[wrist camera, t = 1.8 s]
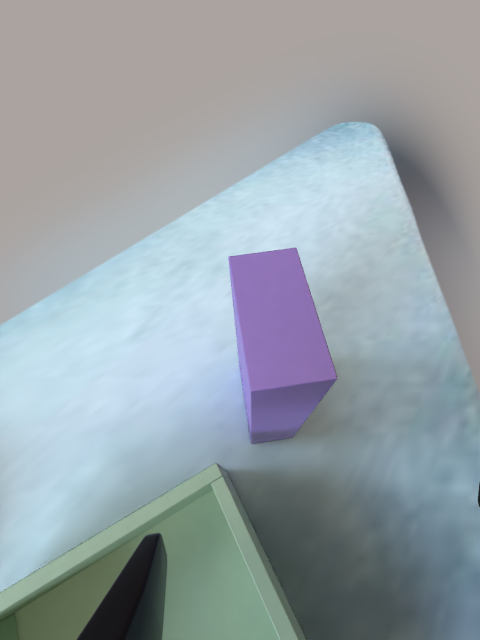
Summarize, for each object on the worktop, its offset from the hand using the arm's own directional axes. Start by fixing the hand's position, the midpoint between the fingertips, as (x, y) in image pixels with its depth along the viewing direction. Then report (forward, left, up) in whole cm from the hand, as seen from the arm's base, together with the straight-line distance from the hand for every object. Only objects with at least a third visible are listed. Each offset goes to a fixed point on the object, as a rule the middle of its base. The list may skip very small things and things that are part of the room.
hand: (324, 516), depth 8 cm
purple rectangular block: (+6, -2, -13) cm, 15 cm away
